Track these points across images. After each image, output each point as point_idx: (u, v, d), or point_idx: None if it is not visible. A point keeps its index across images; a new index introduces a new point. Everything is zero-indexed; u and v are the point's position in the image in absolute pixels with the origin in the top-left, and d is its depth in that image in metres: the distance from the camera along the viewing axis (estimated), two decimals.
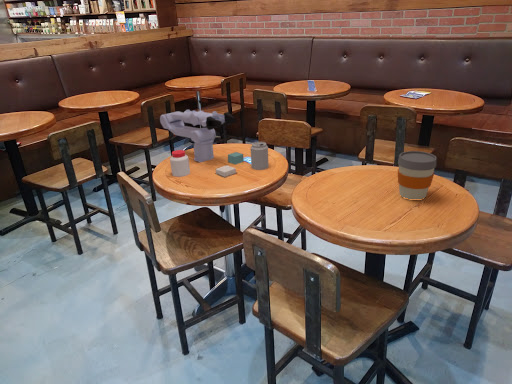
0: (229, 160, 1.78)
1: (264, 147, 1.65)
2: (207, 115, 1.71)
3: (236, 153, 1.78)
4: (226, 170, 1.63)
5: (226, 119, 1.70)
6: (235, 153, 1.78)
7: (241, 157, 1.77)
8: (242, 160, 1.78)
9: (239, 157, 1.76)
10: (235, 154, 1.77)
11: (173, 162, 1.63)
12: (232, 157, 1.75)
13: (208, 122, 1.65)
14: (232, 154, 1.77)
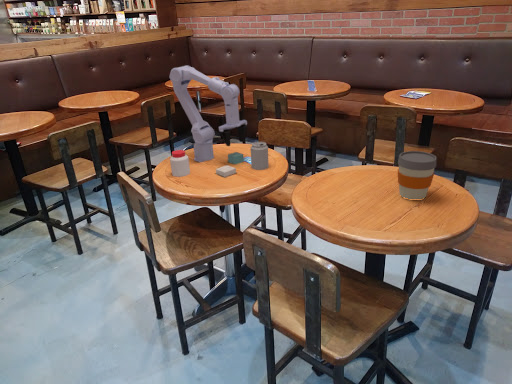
0: (229, 160, 1.78)
1: (264, 147, 1.65)
2: (232, 118, 1.67)
3: (236, 153, 1.78)
4: (226, 170, 1.63)
5: (240, 129, 1.75)
6: (235, 153, 1.78)
7: (241, 157, 1.77)
8: (242, 160, 1.78)
9: (239, 157, 1.76)
10: (235, 154, 1.77)
11: (173, 162, 1.63)
12: (232, 157, 1.75)
13: None
14: (232, 154, 1.77)
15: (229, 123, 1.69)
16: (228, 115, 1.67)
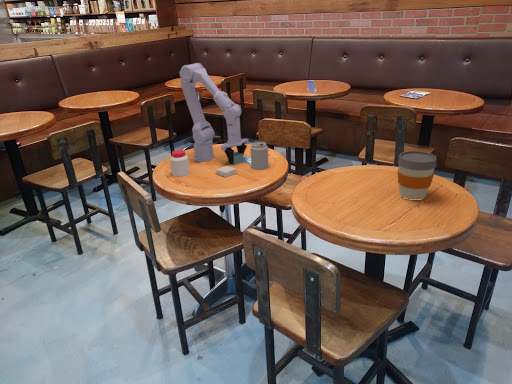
0: None
1: (264, 147, 1.65)
2: (234, 137, 1.71)
3: (236, 153, 1.78)
4: (227, 170, 1.63)
5: (239, 147, 1.78)
6: (235, 153, 1.78)
7: (241, 156, 1.77)
8: (242, 160, 1.78)
9: (239, 157, 1.76)
10: (235, 154, 1.77)
11: (173, 162, 1.63)
12: None
13: None
14: None
15: (231, 142, 1.72)
16: (230, 134, 1.71)
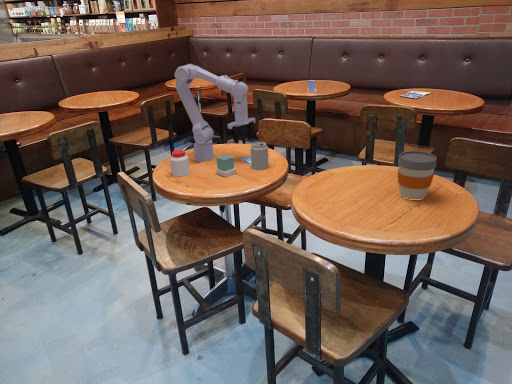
0: (218, 163, 1.64)
1: (264, 147, 1.65)
2: (241, 115, 1.69)
3: (225, 156, 1.65)
4: None
5: (248, 126, 1.76)
6: (224, 156, 1.65)
7: (231, 160, 1.63)
8: (232, 163, 1.64)
9: (229, 160, 1.62)
10: (224, 157, 1.64)
11: (173, 162, 1.63)
12: (221, 160, 1.62)
13: None
14: (221, 157, 1.64)
15: (238, 121, 1.70)
16: (237, 113, 1.69)
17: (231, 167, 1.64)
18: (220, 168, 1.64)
